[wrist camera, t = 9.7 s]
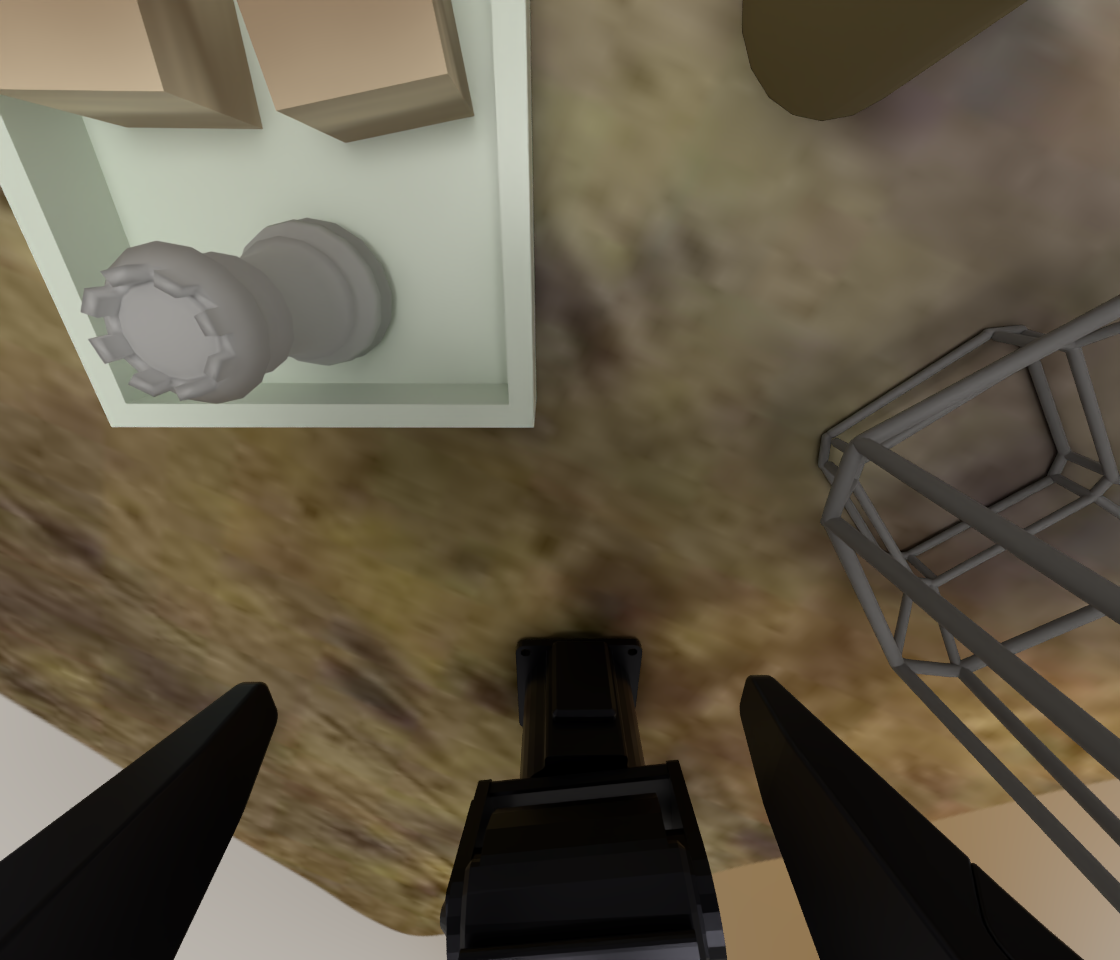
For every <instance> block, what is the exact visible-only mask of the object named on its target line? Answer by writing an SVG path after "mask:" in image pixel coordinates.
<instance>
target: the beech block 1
mask: <svg viewBox="0 0 1120 960" xmlns="http://www.w3.org/2000/svg"><path fill="white" fill-rule="evenodd" d="M0 94H1V95H5V96H9V97H13V98H16V99H20V100H24V101H28V102H32V103H35V104H39V105H43V106H47V107H51V108H55V109H58V110H62V111H66V112H70V113H74V114H77V115H81V116H85V117H89V118H93V119H96V120H100V121H104V122H108V123H112V124H115V125H119V126H123V127H127V128H211V129H263V127H262V122H261V118H260V114H259V109H258V105H257V101H256V96H255V92H254V88H253V83H252V79H251V75H250V70H249V66H248V62H247V57H246V53H245V48H244V44H243V40H242V35H241V31H240V27H239V22H238V18H237V14H236V9H235V5H234V1H233V0H0Z"/></svg>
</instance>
